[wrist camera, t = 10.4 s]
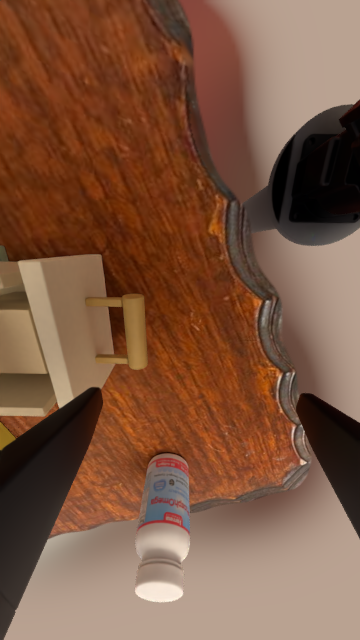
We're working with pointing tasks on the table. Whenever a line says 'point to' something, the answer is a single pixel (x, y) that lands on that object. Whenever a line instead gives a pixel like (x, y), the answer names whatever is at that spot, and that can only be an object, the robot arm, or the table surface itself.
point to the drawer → (69, 331)
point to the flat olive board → (5, 436)
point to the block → (19, 337)
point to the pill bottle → (163, 529)
